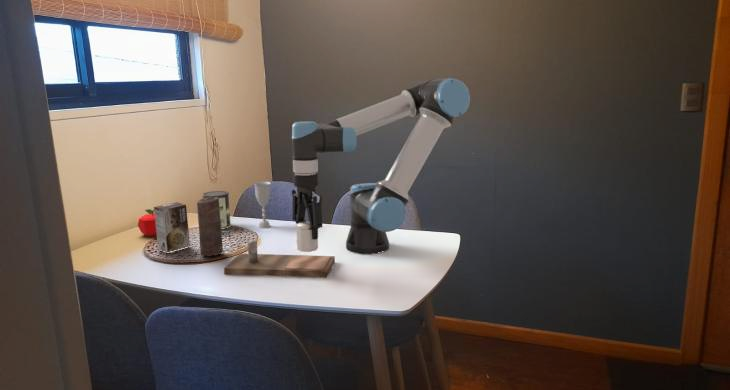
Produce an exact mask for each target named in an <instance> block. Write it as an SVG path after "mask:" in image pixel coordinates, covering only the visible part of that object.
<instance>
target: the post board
mask: <svg viewBox="0 0 730 390" xmlns="http://www.w3.org/2000/svg"><path fill="white" fill-rule="evenodd" d="M247 251H248V253H238V254H237V256H235V257H234V258H233V259H232V260H231V261H230V262H229V263H228V264H226V266H225V267H223V273H224V275H234V276H235V275H237V276H238V275H239V276H241V275H242V276H262V277H263V276H264V277H266V276H267V277H270V276H271V277H292V278H293V277H294V278H295V277H297V278H298V277H299V278H301V277H302V278H322V277H323V278H327V277H328V276H329V274H330V272H331V271H332V269H333V266H334V264H335V262H336V261H335V260H336V259H335V258H336V257H335V256H334V255H332V256H331V255H308V254H307V255H306V254H305V255H303V254H302V255H301V254H270V253H269V254H267V253H264V254H263V253H258V242H257V240H248V241H247Z"/></svg>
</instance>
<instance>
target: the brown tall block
mask: <svg viewBox="0 0 730 390" xmlns="http://www.w3.org/2000/svg"><path fill="white" fill-rule="evenodd" d="M196 209H197V222H198V235H199V236H198V238H199V248H200V254H201V256H205V255H207V257H213V256H212V255H214V256H219V255H218V254H221V253H222V252H223V253H224V248H223V247H224V246H223V237H222V230H221V221H220V209H219V198H218V197H216V198H215V197H211V198H203V197H202V198H199V200H197V202H196ZM221 255H222V254H221Z"/></svg>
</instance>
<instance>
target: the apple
mask: <svg viewBox="0 0 730 390" xmlns="http://www.w3.org/2000/svg"><path fill="white" fill-rule="evenodd" d="M144 211H145V212H146V213H148V214H144V215H142V216H141V217H140V218H139V219H138V223H137V227H138V229H139V230H140V232H141V233H142V235H144V236H146V237H157V232H156V222H155V212H154V209H144Z"/></svg>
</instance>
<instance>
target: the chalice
mask: <svg viewBox="0 0 730 390" xmlns="http://www.w3.org/2000/svg"><path fill="white" fill-rule="evenodd" d="M253 185H254V191H255V192H254V193H255V197H256V201H257V202H258V204H259V206H261V207H262V209H261V212H262V215H261V216H262V220H260V221H259V224H258V228H259V229H269V228H271V227H272V226H271V225H270V222H269V220H267V219H266V217H267V213H266V209H265V207H266V206H267V205H268V202H269V201H270V197H271V182H269V181H257V182H253Z"/></svg>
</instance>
